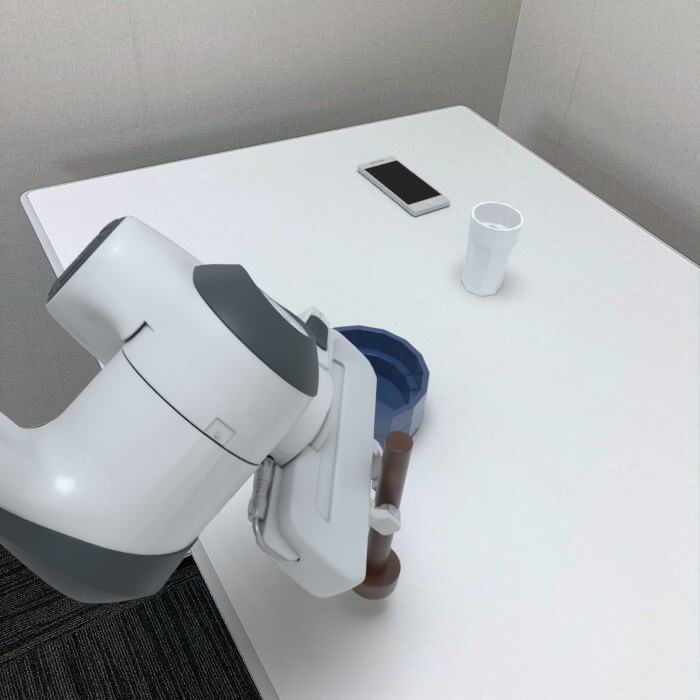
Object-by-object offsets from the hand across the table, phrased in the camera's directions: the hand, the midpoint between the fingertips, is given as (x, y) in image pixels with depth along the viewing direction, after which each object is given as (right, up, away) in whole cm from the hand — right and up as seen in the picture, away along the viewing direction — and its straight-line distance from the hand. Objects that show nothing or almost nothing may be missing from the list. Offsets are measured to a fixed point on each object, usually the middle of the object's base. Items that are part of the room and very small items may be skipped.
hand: (394, 506), depth 60 cm
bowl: (-3, +6, +27) cm, 28 cm away
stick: (-1, -7, +7) cm, 10 cm away
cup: (+14, +21, +46) cm, 53 cm away
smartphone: (+5, +38, +63) cm, 74 cm away
